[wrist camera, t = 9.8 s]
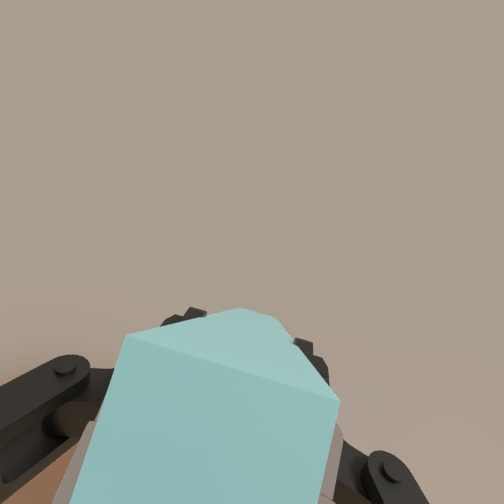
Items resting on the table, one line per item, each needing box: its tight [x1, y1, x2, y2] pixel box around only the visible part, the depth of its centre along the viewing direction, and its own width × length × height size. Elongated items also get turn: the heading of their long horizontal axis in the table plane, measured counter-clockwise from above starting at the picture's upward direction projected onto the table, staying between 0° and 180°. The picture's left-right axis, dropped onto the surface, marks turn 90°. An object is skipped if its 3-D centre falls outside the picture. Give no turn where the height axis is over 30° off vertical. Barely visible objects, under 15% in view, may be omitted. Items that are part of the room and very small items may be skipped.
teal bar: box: [69, 308, 340, 504], centre depth 19 cm, size 4×28×4 cm, turn 178°
